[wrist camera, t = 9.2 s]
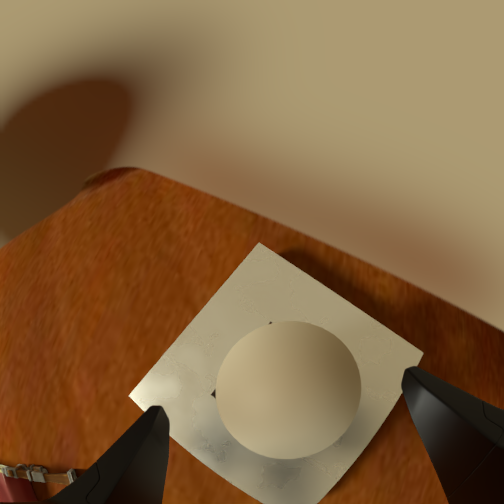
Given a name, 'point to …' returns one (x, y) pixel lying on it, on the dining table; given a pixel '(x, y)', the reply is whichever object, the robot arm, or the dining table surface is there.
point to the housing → (234, 329)
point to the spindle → (288, 390)
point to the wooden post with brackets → (39, 474)
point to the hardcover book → (15, 489)
